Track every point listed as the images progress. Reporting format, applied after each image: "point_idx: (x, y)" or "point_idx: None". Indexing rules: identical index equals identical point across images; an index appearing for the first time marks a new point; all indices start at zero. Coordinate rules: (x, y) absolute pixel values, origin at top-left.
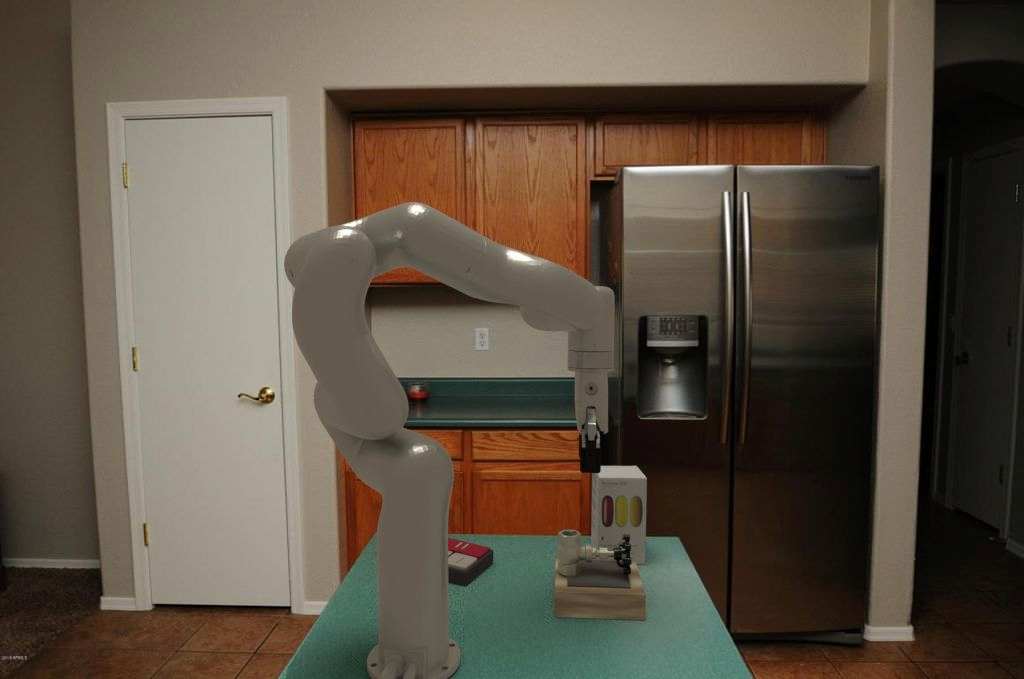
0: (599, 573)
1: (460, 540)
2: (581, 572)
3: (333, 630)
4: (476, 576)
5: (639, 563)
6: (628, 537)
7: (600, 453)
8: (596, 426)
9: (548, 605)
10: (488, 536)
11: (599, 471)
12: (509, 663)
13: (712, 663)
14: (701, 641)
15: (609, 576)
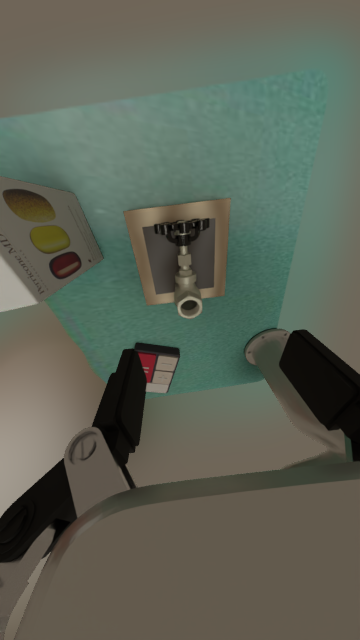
0: None
1: None
2: None
3: (234, 381)
4: (164, 346)
5: (78, 202)
6: (188, 224)
7: (355, 372)
8: (127, 489)
9: None
10: (85, 356)
11: (305, 332)
12: (275, 305)
13: (312, 112)
14: (267, 121)
15: (190, 246)
